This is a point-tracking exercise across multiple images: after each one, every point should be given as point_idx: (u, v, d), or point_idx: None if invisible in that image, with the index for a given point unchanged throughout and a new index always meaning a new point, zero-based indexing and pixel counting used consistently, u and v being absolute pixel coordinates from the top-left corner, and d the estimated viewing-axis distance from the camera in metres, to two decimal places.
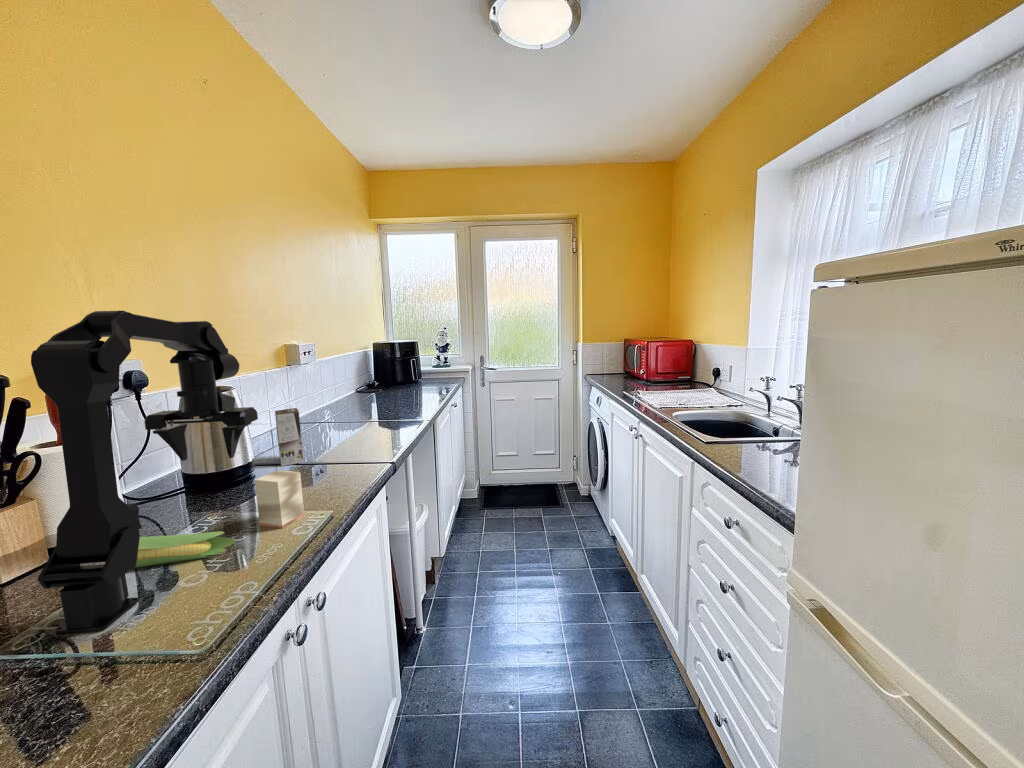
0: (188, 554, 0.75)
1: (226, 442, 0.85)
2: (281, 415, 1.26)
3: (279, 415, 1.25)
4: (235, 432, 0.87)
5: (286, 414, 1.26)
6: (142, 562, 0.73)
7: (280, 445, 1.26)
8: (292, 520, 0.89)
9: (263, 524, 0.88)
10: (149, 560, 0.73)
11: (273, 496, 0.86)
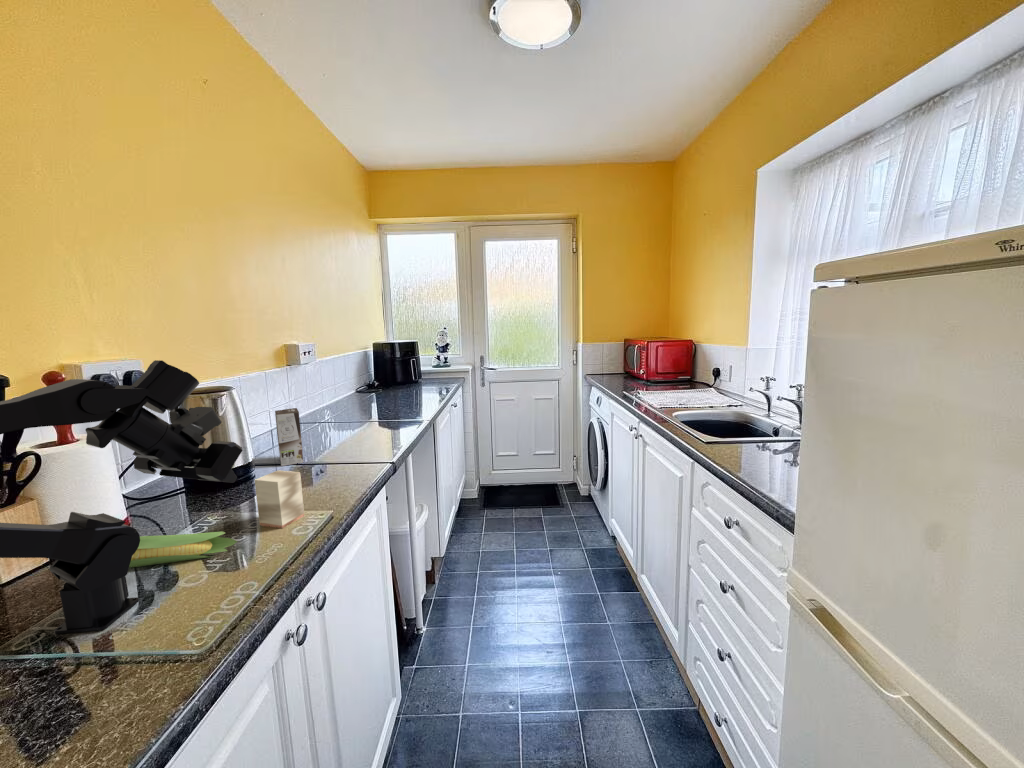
0: (189, 554, 0.75)
1: None
2: (281, 415, 1.26)
3: (279, 415, 1.25)
4: None
5: (286, 414, 1.26)
6: (144, 561, 0.73)
7: (280, 445, 1.26)
8: (292, 520, 0.89)
9: (263, 524, 0.88)
10: (151, 559, 0.73)
11: (273, 496, 0.86)
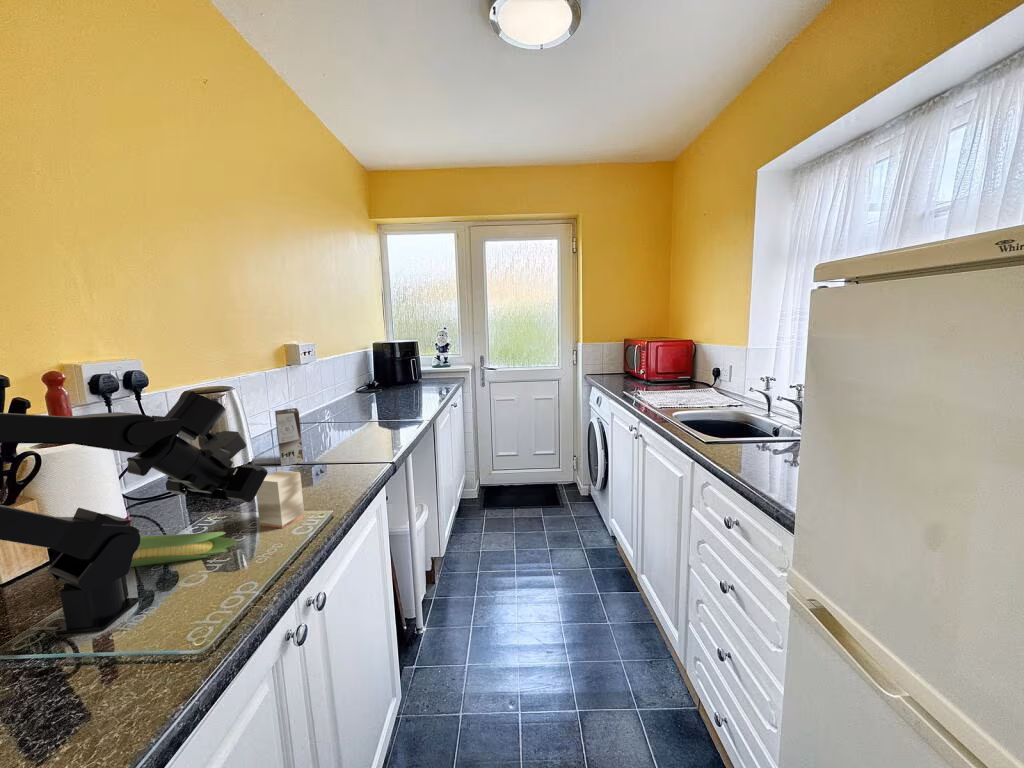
0: (189, 554, 0.75)
1: None
2: (281, 415, 1.26)
3: (279, 415, 1.25)
4: None
5: (286, 414, 1.26)
6: (145, 561, 0.73)
7: (280, 445, 1.26)
8: (292, 520, 0.89)
9: (263, 524, 0.88)
10: (151, 559, 0.73)
11: (273, 496, 0.86)
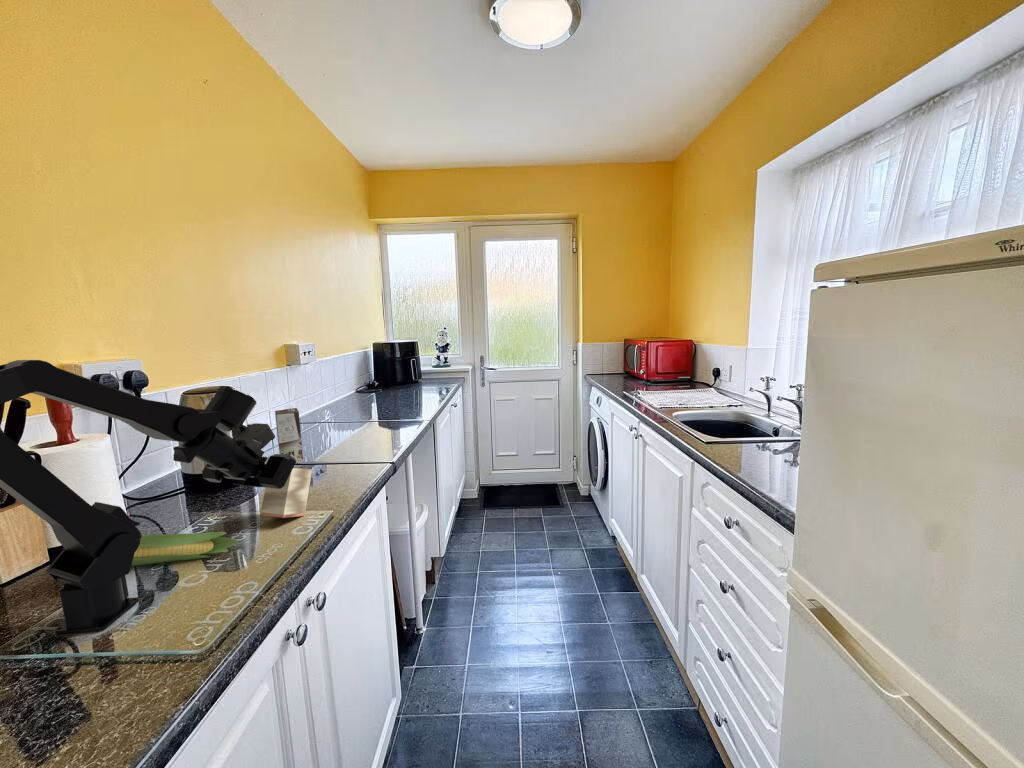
0: (190, 554, 0.75)
1: None
2: (281, 415, 1.26)
3: (279, 415, 1.25)
4: None
5: (286, 414, 1.26)
6: (146, 560, 0.74)
7: (280, 445, 1.26)
8: (293, 514, 0.89)
9: (264, 514, 0.88)
10: (153, 558, 0.74)
11: None
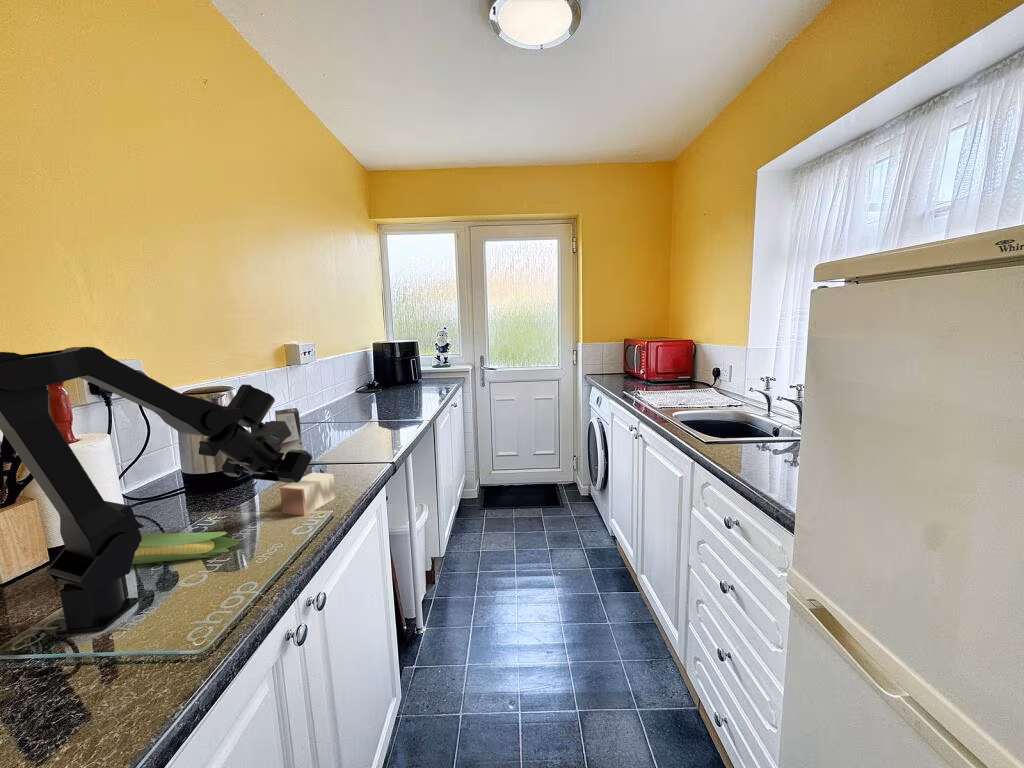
0: (191, 553, 0.75)
1: None
2: (281, 415, 1.26)
3: (279, 415, 1.25)
4: None
5: (286, 414, 1.26)
6: (148, 559, 0.74)
7: (280, 445, 1.26)
8: (304, 500, 0.92)
9: (284, 487, 0.93)
10: (155, 557, 0.74)
11: (318, 478, 0.98)
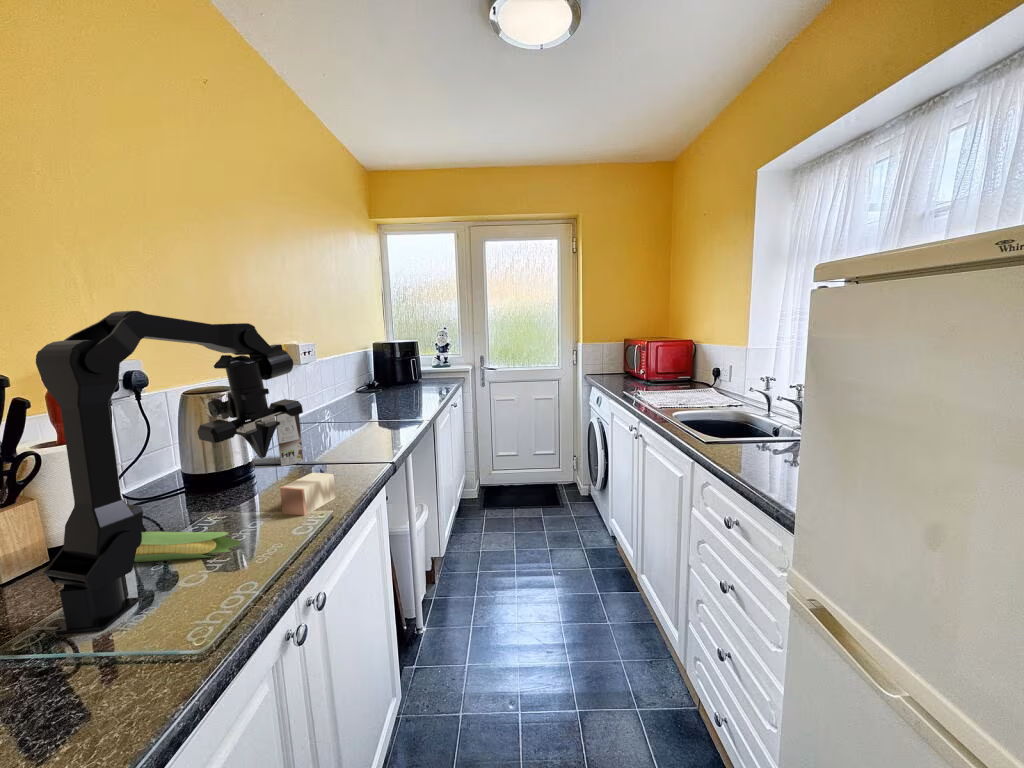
0: (193, 553, 0.75)
1: (267, 441, 0.87)
2: (281, 415, 1.26)
3: (279, 415, 1.25)
4: None
5: (286, 414, 1.26)
6: (152, 557, 0.74)
7: (280, 445, 1.26)
8: (304, 500, 0.92)
9: (284, 487, 0.93)
10: (158, 556, 0.74)
11: (318, 478, 0.98)
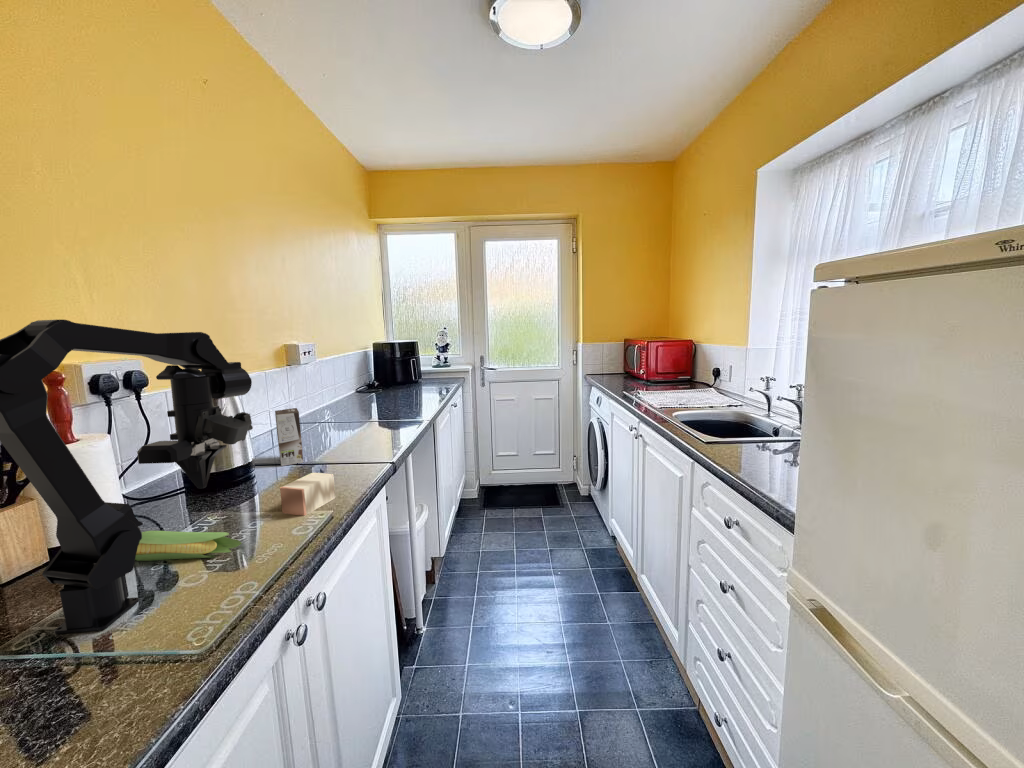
0: (193, 553, 0.75)
1: None
2: (281, 415, 1.26)
3: (279, 415, 1.25)
4: (194, 461, 0.74)
5: (286, 414, 1.26)
6: (154, 556, 0.75)
7: (280, 445, 1.26)
8: (304, 500, 0.92)
9: (284, 487, 0.93)
10: (159, 555, 0.75)
11: (318, 478, 0.98)
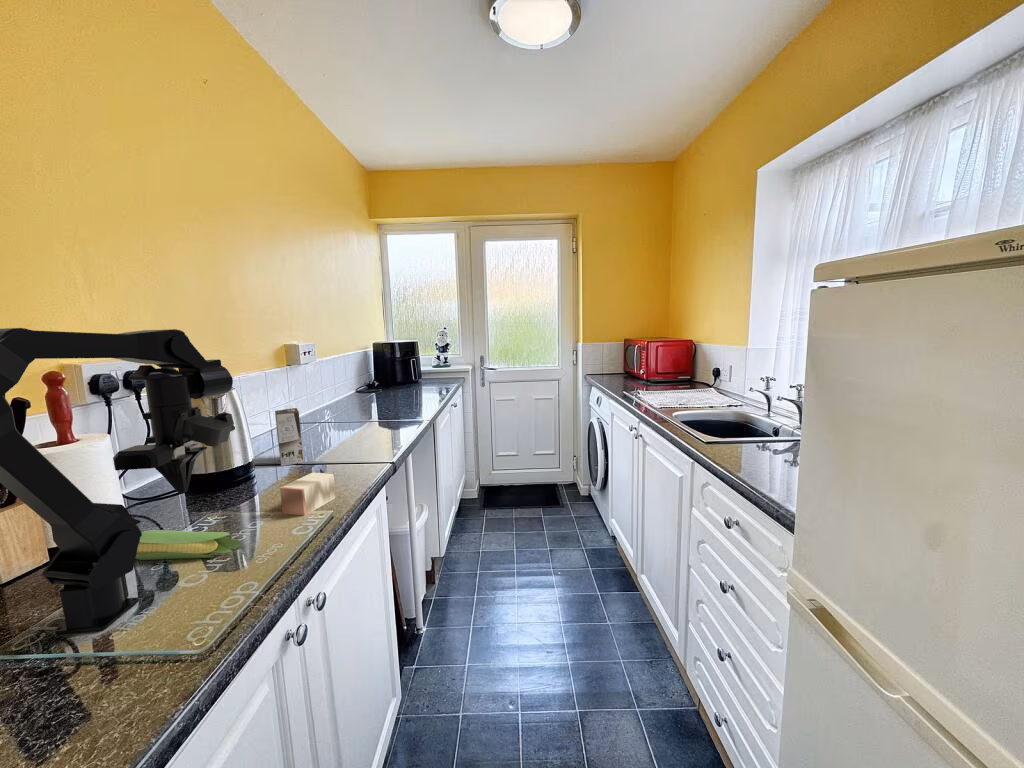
0: (194, 552, 0.75)
1: None
2: (281, 415, 1.26)
3: (279, 415, 1.25)
4: (174, 465, 0.71)
5: (286, 414, 1.26)
6: (155, 555, 0.75)
7: (280, 445, 1.26)
8: (304, 500, 0.92)
9: (284, 487, 0.93)
10: (161, 554, 0.75)
11: (318, 478, 0.98)
